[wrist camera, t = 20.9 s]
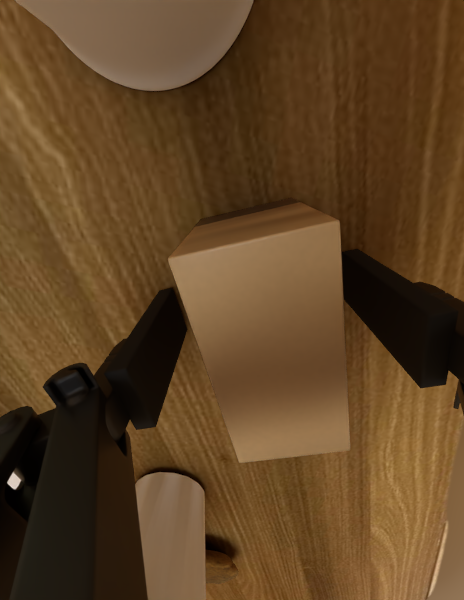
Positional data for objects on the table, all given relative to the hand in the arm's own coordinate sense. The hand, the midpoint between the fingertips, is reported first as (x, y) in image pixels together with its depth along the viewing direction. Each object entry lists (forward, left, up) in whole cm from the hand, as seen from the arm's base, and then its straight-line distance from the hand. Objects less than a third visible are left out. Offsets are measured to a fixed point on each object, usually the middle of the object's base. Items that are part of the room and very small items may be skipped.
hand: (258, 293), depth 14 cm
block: (0, 0, 0) cm, 0 cm away
